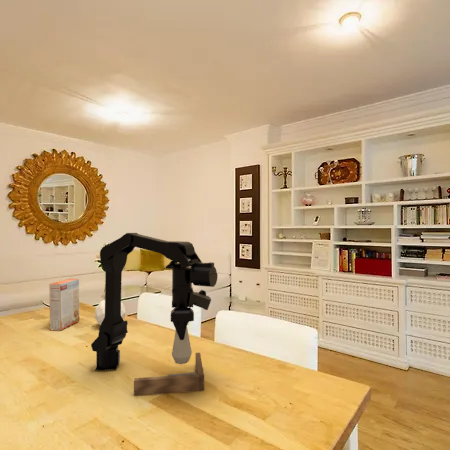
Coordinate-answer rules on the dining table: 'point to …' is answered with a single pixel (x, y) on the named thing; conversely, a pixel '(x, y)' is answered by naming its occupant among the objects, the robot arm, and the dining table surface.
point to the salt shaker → (181, 349)
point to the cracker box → (64, 303)
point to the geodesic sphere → (101, 312)
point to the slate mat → (181, 374)
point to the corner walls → (171, 382)
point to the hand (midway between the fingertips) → (181, 337)
